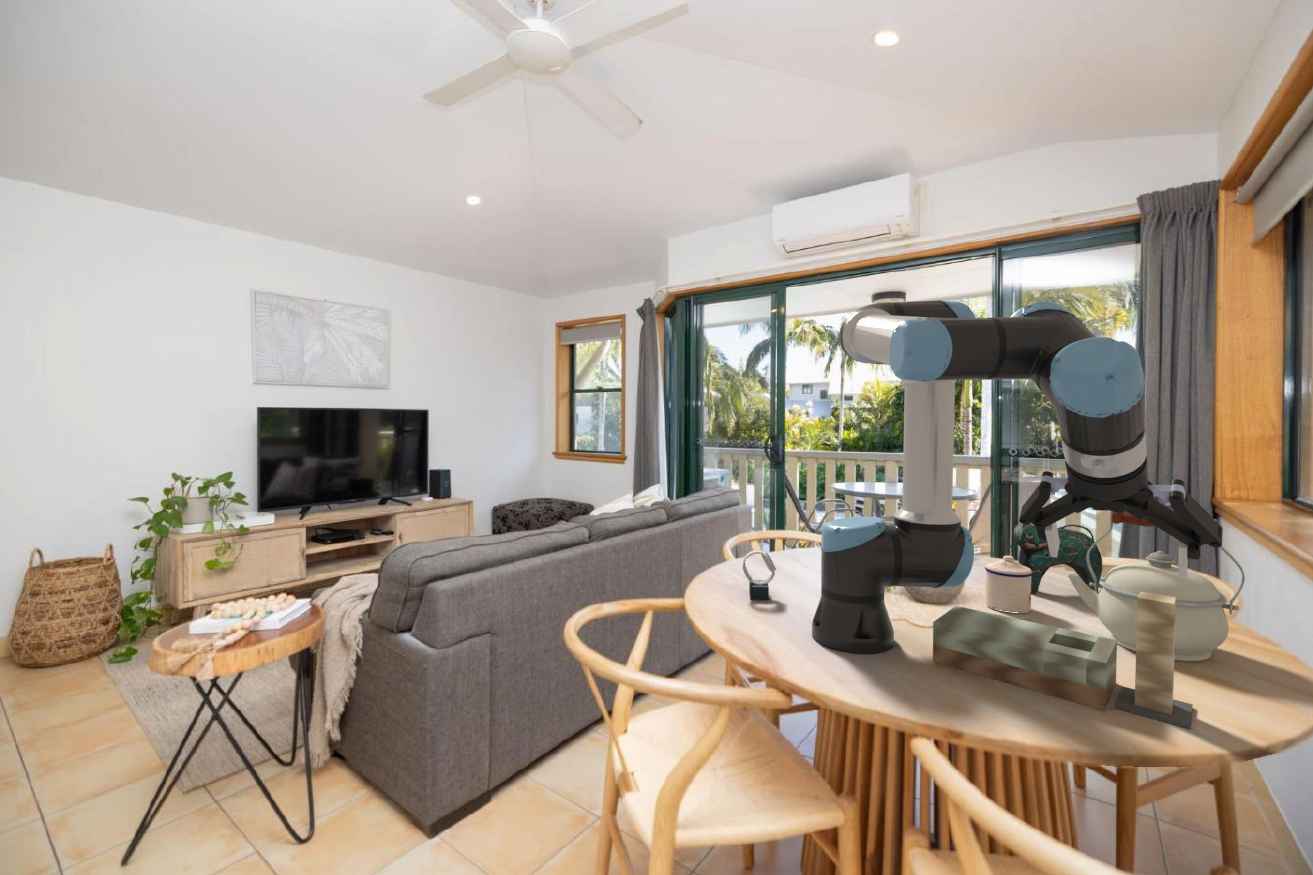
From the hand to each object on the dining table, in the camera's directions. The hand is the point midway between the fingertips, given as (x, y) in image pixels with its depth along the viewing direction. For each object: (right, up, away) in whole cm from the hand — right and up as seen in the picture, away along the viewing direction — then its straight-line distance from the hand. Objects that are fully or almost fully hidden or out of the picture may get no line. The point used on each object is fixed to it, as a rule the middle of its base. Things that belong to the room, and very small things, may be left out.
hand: (1115, 558), depth 77 cm
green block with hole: (-1, -23, +18) cm, 29 cm away
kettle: (+30, -23, +29) cm, 48 cm away
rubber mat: (+11, -23, +6) cm, 26 cm away
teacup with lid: (+16, -22, +51) cm, 58 cm away
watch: (-38, -22, +59) cm, 74 cm away
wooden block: (+11, -23, +6) cm, 26 cm away
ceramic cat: (+36, -22, +62) cm, 74 cm away
